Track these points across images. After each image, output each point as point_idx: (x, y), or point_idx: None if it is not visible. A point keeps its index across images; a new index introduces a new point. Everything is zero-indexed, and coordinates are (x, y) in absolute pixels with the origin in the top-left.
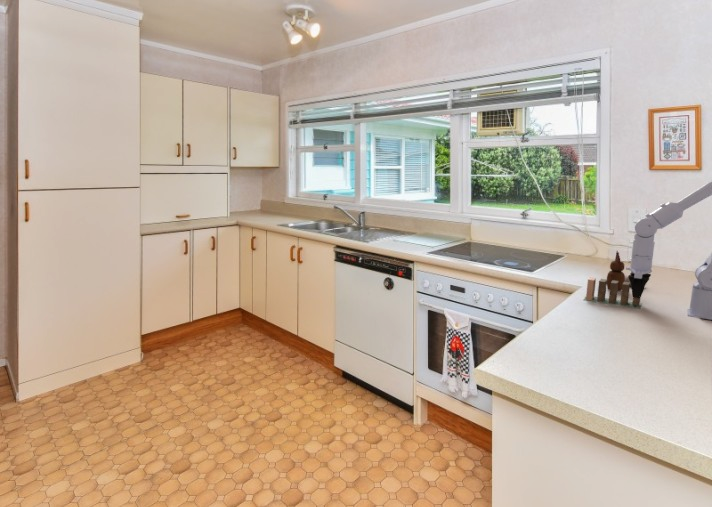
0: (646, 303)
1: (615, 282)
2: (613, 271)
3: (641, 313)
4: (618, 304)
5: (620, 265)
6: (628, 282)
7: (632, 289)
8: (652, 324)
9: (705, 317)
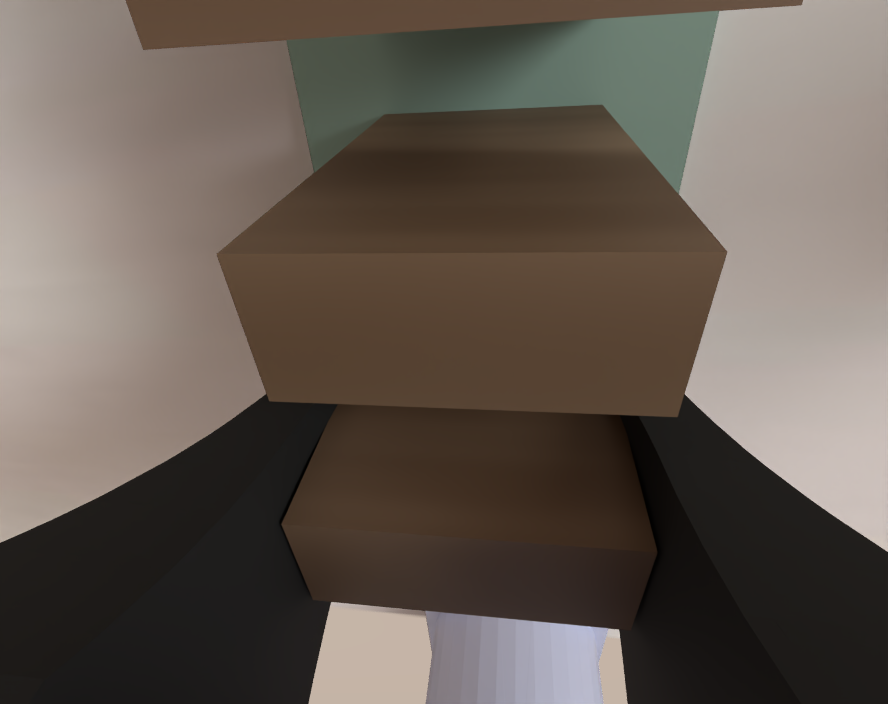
0: (734, 372)
1: None
2: None
3: (234, 349)
4: (378, 90)
5: None
6: (650, 377)
7: (257, 409)
8: (3, 416)
9: (432, 630)
